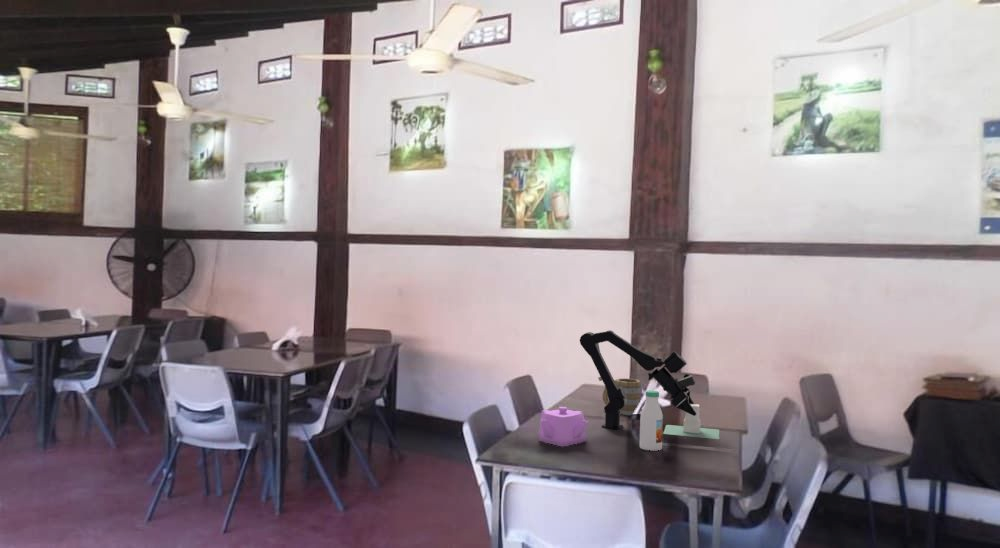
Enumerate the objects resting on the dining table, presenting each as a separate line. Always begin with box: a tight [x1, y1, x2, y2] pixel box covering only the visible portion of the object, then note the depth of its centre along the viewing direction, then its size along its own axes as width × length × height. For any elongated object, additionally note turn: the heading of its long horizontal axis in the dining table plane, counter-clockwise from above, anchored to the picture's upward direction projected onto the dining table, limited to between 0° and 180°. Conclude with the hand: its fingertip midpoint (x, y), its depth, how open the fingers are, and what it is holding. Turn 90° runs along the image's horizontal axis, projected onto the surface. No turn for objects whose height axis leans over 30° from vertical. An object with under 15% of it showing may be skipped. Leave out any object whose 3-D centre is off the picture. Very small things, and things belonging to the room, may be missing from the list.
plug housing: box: [682, 403, 701, 433], centre depth 263 cm, size 6×5×10 cm
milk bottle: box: [639, 390, 664, 452], centre depth 241 cm, size 8×8×20 cm
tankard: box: [598, 376, 643, 416], centre depth 304 cm, size 20×13×15 cm, turn 58°
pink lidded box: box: [538, 406, 589, 446], centre depth 248 cm, size 17×17×12 cm
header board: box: [662, 424, 720, 440], centre depth 263 cm, size 20×16×4 cm
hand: (696, 412), depth 263 cm, fingers open, 9 cm apart
